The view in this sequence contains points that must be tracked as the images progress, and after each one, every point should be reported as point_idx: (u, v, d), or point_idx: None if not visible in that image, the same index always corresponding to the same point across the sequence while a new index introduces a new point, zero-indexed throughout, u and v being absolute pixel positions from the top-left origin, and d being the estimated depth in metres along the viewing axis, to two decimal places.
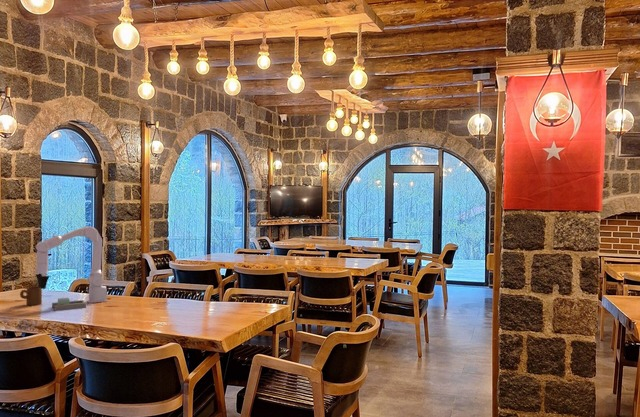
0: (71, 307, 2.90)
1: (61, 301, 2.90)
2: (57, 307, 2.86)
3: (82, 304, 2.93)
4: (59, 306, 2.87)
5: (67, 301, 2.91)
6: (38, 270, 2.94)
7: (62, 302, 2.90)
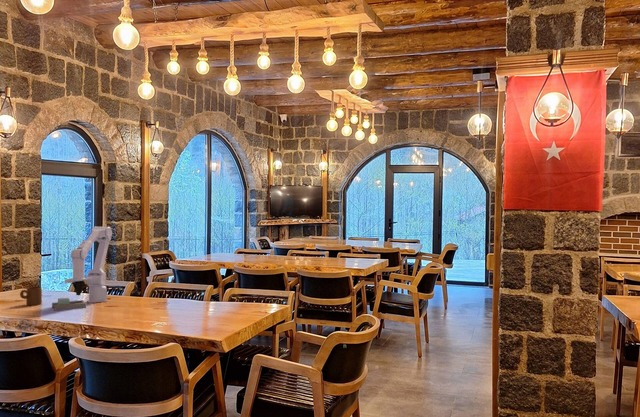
0: (71, 307, 2.90)
1: (61, 301, 2.90)
2: (57, 307, 2.86)
3: (82, 304, 2.93)
4: (59, 306, 2.87)
5: (67, 301, 2.91)
6: None
7: (62, 302, 2.90)
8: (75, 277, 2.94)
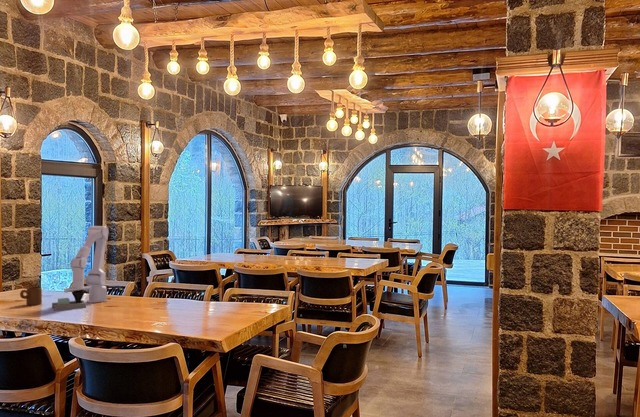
0: (71, 307, 2.90)
1: (61, 301, 2.90)
2: (57, 307, 2.86)
3: (82, 304, 2.93)
4: (59, 306, 2.87)
5: (67, 301, 2.91)
6: None
7: (62, 302, 2.90)
8: (75, 286, 2.94)
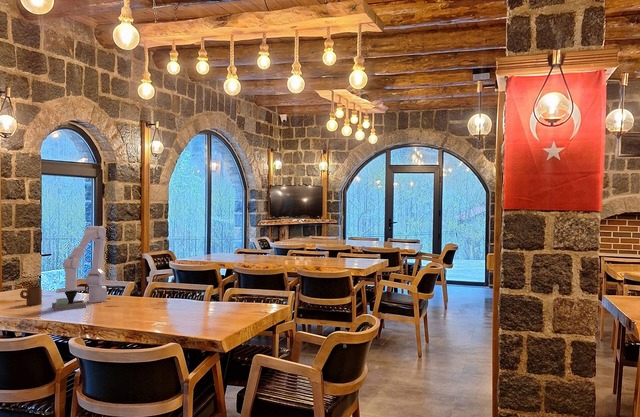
0: (71, 307, 2.90)
1: (59, 301, 2.89)
2: (57, 307, 2.86)
3: (82, 304, 2.93)
4: (59, 306, 2.87)
5: (65, 301, 2.91)
6: None
7: (60, 302, 2.89)
8: (66, 287, 2.92)
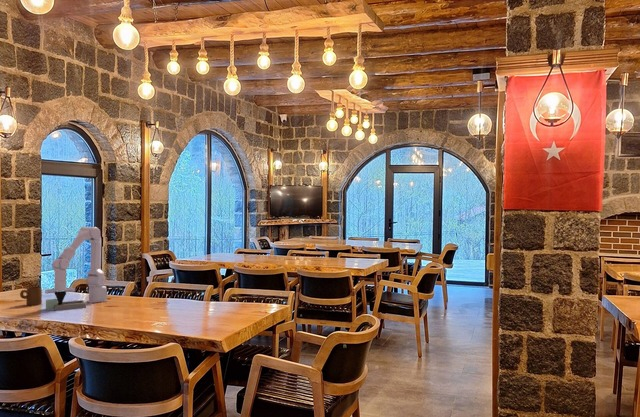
0: (71, 307, 2.90)
1: (49, 302, 2.86)
2: (57, 307, 2.86)
3: (82, 304, 2.93)
4: (59, 306, 2.87)
5: (55, 302, 2.88)
6: None
7: (50, 303, 2.87)
8: (55, 287, 2.89)
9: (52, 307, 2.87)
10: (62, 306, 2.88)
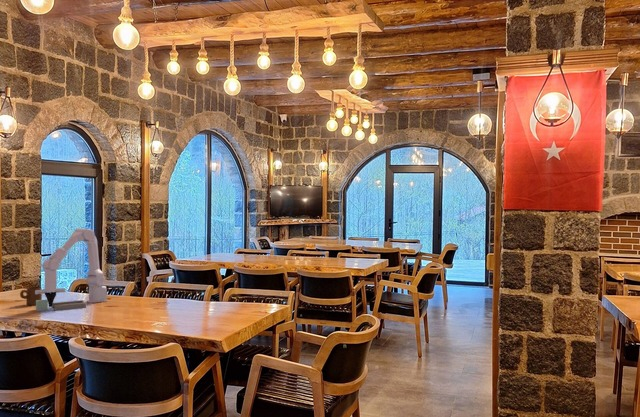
0: (71, 307, 2.90)
1: (39, 303, 2.84)
2: (57, 307, 2.86)
3: (82, 304, 2.93)
4: (59, 306, 2.87)
5: (45, 303, 2.85)
6: None
7: (40, 304, 2.84)
8: (45, 288, 2.86)
9: (42, 308, 2.84)
10: (62, 306, 2.88)
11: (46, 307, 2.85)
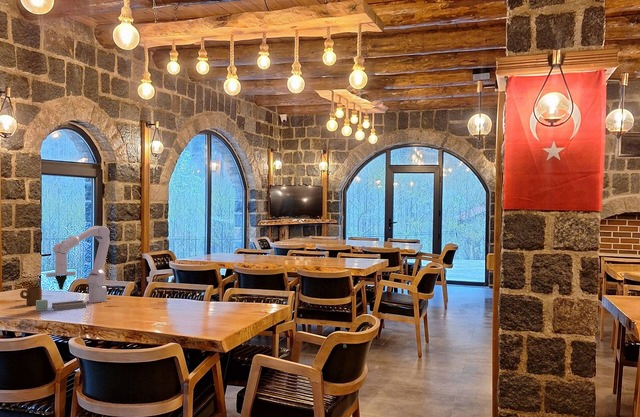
0: (71, 307, 2.90)
1: (39, 303, 2.84)
2: (57, 307, 2.86)
3: (82, 304, 2.93)
4: (59, 306, 2.87)
5: (45, 303, 2.85)
6: None
7: (40, 304, 2.84)
8: (56, 271, 2.92)
9: (42, 308, 2.84)
10: (62, 306, 2.88)
11: (46, 307, 2.85)
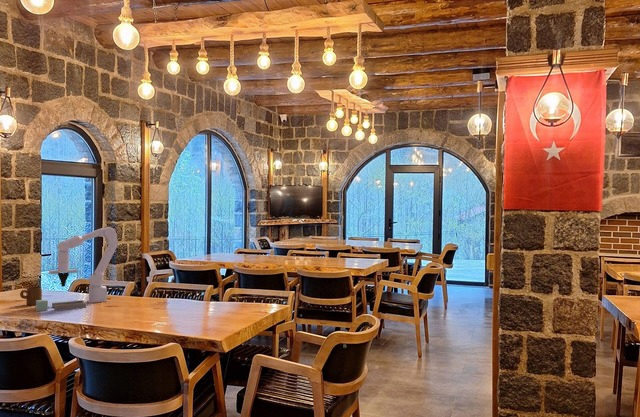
0: (71, 307, 2.90)
1: (39, 303, 2.84)
2: (57, 307, 2.86)
3: (82, 304, 2.93)
4: (59, 306, 2.87)
5: (45, 303, 2.85)
6: None
7: (40, 304, 2.84)
8: (59, 269, 3.03)
9: (42, 308, 2.84)
10: (62, 306, 2.88)
11: (46, 307, 2.85)
